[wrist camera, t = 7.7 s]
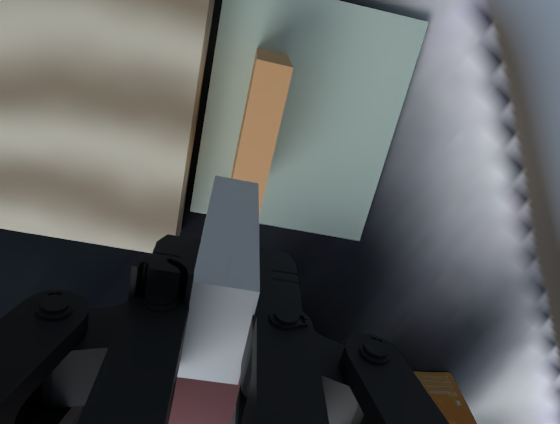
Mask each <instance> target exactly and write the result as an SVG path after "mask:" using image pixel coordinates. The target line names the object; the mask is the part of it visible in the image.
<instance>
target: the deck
mask: <svg viewBox="0 0 560 424" xmlns="http://www.w3.org/2000/svg"><path fill="white" fill-rule="evenodd" d="M214 4H215V0H0V228H1V229H7V230H13V231H19V232H25V233H31V234H38V235H44V236H50V237H56V238H62V239H68V240H74V241H80V242H87V243H93V244H99V245H105V246H111V247H117V248H123V249H129V250H136V251H142V252H148V253H153V250H154V247H155V245H156V242H157V241H158V240H160V239H161V238H163V237H164V236H166V235H167V234H169V235H175V236H179V234H180V231H181V226H182V219H183V212H184V205H185V199H186V192H187V185H188V179H189V172H190V165H191V158H192V152H193V145H194V138H195V131H196V125H197V118H198V111H199V105H200V98H201V91H202V84H203V78H204V71H205V64H206V57H207V51H208V44H209V37H210V31H211V24H212V17H213V10H214Z"/></svg>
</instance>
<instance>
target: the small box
mask: <svg viewBox="0 0 560 424" xmlns="http://www.w3.org/2000/svg"><path fill="white" fill-rule="evenodd" d="M413 372H414V374H415V375H416V376H417V378H418V379H419V381H420V382H421V384H422V385H423V386H424V388H425V389H426V391H427V392H428V394H429V395H430V397H431V398H432V399H433V401H434V402H435V404H436V405H437V407H438V408H439V409H440V411H441V412H442V414H443V415H444V417H445V418H446V419H447V421H448V422H449V424H477V423H476V421H475V419H474V417H473V415H472V413H471V411H470V409H469V407H468V405H467V403H466V401H465V399H464V397H463V395H462V393H461V391H460V389H459V387H458V385H457V384H456V381H455V379H454V378H453V375H452V374H451V373H450V372H418V371H413Z"/></svg>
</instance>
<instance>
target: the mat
mask: <svg viewBox="0 0 560 424" xmlns="http://www.w3.org/2000/svg"><path fill="white" fill-rule="evenodd" d="M428 24H429V22H427V21H423V20H418V19H414V18H410V17H406V16H402V15H398V14H393V13H389V12H385V11H381V10H377V9H373V8H368V7H364V6H360V5H356V4H352V3H348V2H343V1H339V0H223V1H222V7H221V14H220V20H219V27H218V33H217V40H216V46H215V53H214V59H213V66H212V72H211V79H210V85H209V92H208V98H207V105H206V111H205V117H204V124H203V130H202V137H201V143H200V150H199V156H198V163H197V169H196V176H195V182H194V189H193V195H192V202H191V208H190V211H191V212H197V213H203V214H207V210H208V206H209V201H210V197H211V192H212V188H213V183H214V179H215V175H216V176H221V177H227V178H231V174H232V169H233V164H234V159H235V154H236V149H237V144H238V139H239V134H240V129H241V124H242V119H243V114H244V109H245V104H246V99H247V94H248V89H249V84H250V79H251V74H252V69H253V64H254V59H255V54H256V49H257V48H261V49H265V50H269V51H273V52H277V53H282V54H286V55H288V57H289V59H290V61H291V63H292V65H293V67H294V68H293V72H292V77H291V81H290V85H289V90H288V94H287V98H286V102H285V107H284V111H283V115H282V120H281V124H280V128H279V133H278V137H277V141H276V145H275V150H274V154H273V158H272V163H271V167H270V171H269V176H268V180H267V184H266V188H265V193H264V197H263V201H262V206H261V210H260V214H259V223H260V224H265V225H271V226H277V227H282V228H288V229H294V230H300V231H305V232H311V233H317V234H322V235H328V236H334V237H339V238H345V239H351V240H356V241H360V238H361V235H362V232H363V228H364V225H365V222H366V219H367V216H368V213H369V210H370V206H371V203H372V200H373V197H374V194H375V191H376V188H377V184H378V181H379V178H380V175H381V172H382V169H383V165H384V162H385V159H386V156H387V153H388V150H389V147H390V143H391V140H392V137H393V134H394V131H395V128H396V125H397V121H398V118H399V115H400V112H401V109H402V106H403V102H404V99H405V96H406V93H407V90H408V87H409V84H410V80H411V77H412V74H413V71H414V68H415V65H416V62H417V58H418V55H419V52H420V49H421V46H422V43H423V40H424V36H425V33H426V30H427V27H428Z"/></svg>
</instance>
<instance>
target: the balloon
mask: <svg viewBox="0 0 560 424" xmlns="http://www.w3.org/2000/svg"><path fill="white" fill-rule="evenodd" d="M240 381H241V374H240V378H239V383H238V385H235V384H227V383H220V382H212V381H204V380H196V379H189V378H181V377H177V381H176V387H175V392H174V398H173V403H172V408H171V413H170V418H169V423H168V424H231V422H232V417H233V413H234V409H235V405H236V401H237V396H238V392H239V388H240Z"/></svg>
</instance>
